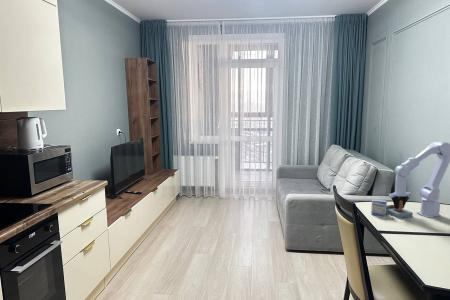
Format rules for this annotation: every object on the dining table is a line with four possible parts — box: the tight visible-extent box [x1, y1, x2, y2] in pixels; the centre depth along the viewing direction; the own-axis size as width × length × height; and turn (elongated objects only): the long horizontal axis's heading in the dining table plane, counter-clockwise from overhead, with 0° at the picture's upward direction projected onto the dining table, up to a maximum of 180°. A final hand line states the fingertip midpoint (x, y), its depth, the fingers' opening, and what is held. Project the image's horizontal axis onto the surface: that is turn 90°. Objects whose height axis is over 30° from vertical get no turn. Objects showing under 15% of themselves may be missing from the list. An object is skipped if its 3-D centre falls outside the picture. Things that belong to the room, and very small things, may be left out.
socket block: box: [386, 208, 414, 219], centre depth 190 cm, size 10×10×2 cm
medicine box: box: [370, 198, 388, 217], centre depth 191 cm, size 8×4×9 cm, turn 68°
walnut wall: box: [386, 204, 395, 209], centre depth 196 cm, size 14×4×4 cm, turn 105°
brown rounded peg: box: [396, 201, 404, 212], centre depth 190 cm, size 4×4×6 cm
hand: (399, 208), depth 190 cm, fingers closed on brown rounded peg, 3 cm apart
